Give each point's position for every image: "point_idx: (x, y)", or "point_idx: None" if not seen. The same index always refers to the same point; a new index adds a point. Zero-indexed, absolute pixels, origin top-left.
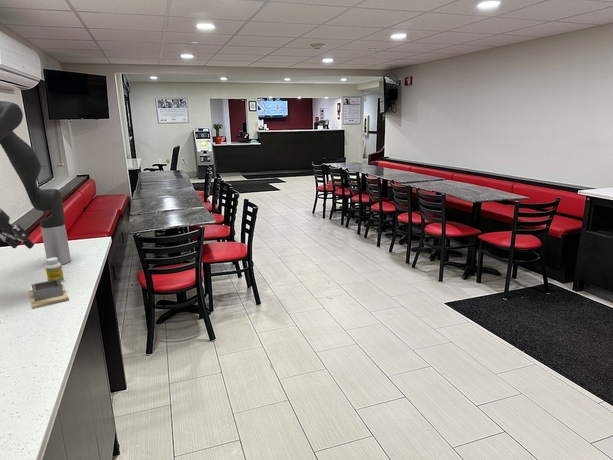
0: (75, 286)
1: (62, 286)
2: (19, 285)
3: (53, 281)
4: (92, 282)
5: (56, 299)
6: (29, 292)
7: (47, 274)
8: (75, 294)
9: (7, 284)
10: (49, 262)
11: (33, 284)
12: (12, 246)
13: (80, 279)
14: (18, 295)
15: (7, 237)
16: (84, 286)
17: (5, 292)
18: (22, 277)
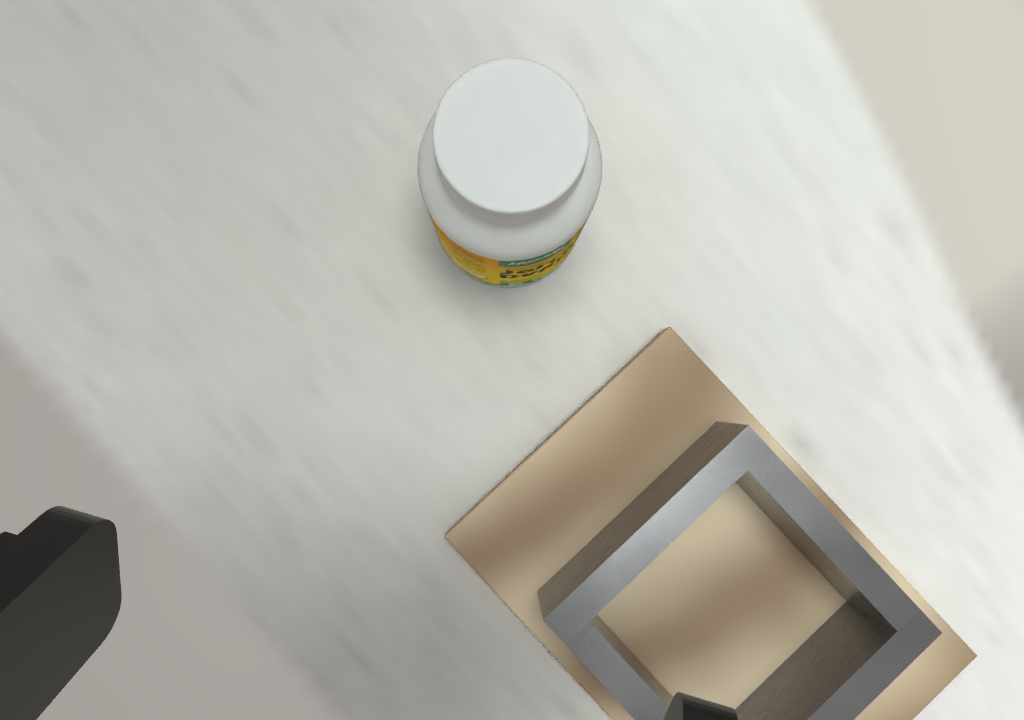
0: (796, 319)
1: (720, 394)
2: (185, 350)
3: (723, 489)
4: (903, 204)
5: (884, 706)
6: (482, 575)
7: (471, 265)
8: (928, 507)
9: (32, 337)
10: (523, 219)
11: (567, 616)
12: (63, 681)
13: (724, 138)
14: (372, 589)
15: None
16: (888, 311)
17: (178, 534)
18: (46, 139)
